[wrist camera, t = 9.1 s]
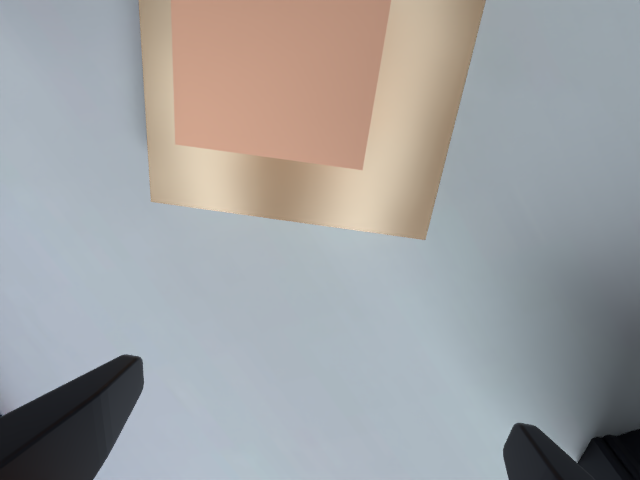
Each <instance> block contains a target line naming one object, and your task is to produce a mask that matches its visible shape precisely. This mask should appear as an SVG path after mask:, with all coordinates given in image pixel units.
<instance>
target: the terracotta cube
mask: <svg viewBox="0 0 640 480" xmlns="http://www.w3.org/2000/svg"><path fill="white" fill-rule="evenodd" d="M390 5H391V0H171V24H172V56H173V89H174V122H175V145H182V146H190V147H197V148H204V149H212V150H219V151H226V152H233V153H241V154H248V155H255V156H262V157H270V158H277V159H284V160H292V161H299V162H306V163H313V164H321V165H328V166H335V167H342V168H350V169H357V170H363V164H364V159H365V153H366V147H367V141H368V135H369V129H370V123H371V117H372V111H373V105H374V99H375V93H376V88H377V82H378V76H379V70H380V64H381V58H382V52H383V46H384V40H385V34H386V28H387V23H388V17H389V11H390Z"/></svg>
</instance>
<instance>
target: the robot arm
mask: <svg viewBox="0 0 640 480" xmlns="http://www.w3.org/2000/svg"><path fill="white" fill-rule="evenodd" d="M143 385H144V376H143V362H142V359H141V357H138V356H133V355H127V354H125V355H121V356H119V357H117V358H115V359H113V360H111V361H109V362H107V363H105V364H103V365H101V366H100V367H98V368H96V369H94V370H92V371H90V372H88V373H86V374H84V375H82V376H80V377H78V378H76V379H74V380H72V381H70V382H68V383H66V384H64V385H62V386H60V387H58V388H56V389H54V390H52V391H50V392H49V393H47V394H45V395H43V396H41V397H39V398H37V399H35V400H33V401H31V402H29V403H27V404H25V405H23V406H21V407H19V408H17V409H15V410H13V411H11V412H9V413H7V414H5V415H3V416H1V417H0V480H93V479H94V478H95V476H96V474H97V473H98V471H99V470H100V468H101V467H102V465H103V463H104V462H105V460H106V459H107V457H108V455H109V453H110V452H111V450H112V448H113V446H114V444H115V442H116V440H117V439H118V437H119V435H120V433H121V431H122V429H123V427H124V425H125V423H126V421H127V419H128V417H129V416H130V414H131V412H132V410H133V408H134V406H135V404H136V402H137V400H138V398H139V396H140V394H141V392H142V390H143ZM503 457H504V462H505V466H506V470H507V474H508V478H509V480H640V429H639V430H634V431H631V432H627V433H625V434H622V435H620V436H613V435H606V436H604V437H603V438H600V437H595V438H593V439H592V440H591V441H590V443H589V445H588V447H587V448H586V450H585V452H584V454H583V455H582V457H581V459H580V460H579V462H578V464H577V463H576V462H575V461H574V460H573V459H572V458H571V457H570V456H569V455H567V454H566V453H565V452H564V451H563V450H562V449H561V448H560V447H559V446H558V445H556V444H555V443H554V442H553V441H552V440H551V439H550V438H549V437H548V436H546V435H545V434H544V433H543V432H542V431H541V430H540V429H539V428H537V427H536V426H534V425H529V424H524V423H516V424H515V425H514V426H513V428H512V430H511V432H510V434H509V436H508V439H507V441H506V443H505V445H504V449H503Z"/></svg>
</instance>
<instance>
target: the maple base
mask: <svg viewBox="0 0 640 480" xmlns="http://www.w3.org/2000/svg"><path fill="white" fill-rule="evenodd" d="M485 1H486V0H391V5H390V11H389V17H388V23H387V28H386V34H385V40H384V46H383V52H382V58H381V64H380V70H379V76H378V82H377V88H376V93H375V99H374V105H373V111H372V117H371V123H370V129H369V135H368V141H367V147H366V153H365V159H364V164H363V170H357V169H350V168H342V167H335V166H328V165H321V164H313V163H306V162H299V161H292V160H284V159H277V158H270V157H262V156H255V155H248V154H241V153H233V152H226V151H219V150H212V149H204V148H197V147H190V146H182V145H175V122H174V89H173V56H172V24H171V0H139V15H140V31H141V47H142V64H143V80H144V96H145V112H146V128H147V145H148V161H149V177H150V193H151V202H156V203H163V204H171V205H178V206H185V207H192V208H199V209H207V210H214V211H221V212H228V213H235V214H243V215H250V216H257V217H264V218H271V219H278V220H286V221H293V222H300V223H307V224H314V225H322V226H329V227H336V228H343V229H350V230H358V231H365V232H372V233H379V234H386V235H393V236H401V237H408V238H415V239H422V240H425V239H426V235H427V231H428V227H429V223H430V219H431V215H432V211H433V207H434V203H435V199H436V195H437V191H438V187H439V183H440V180H441V176H442V172H443V168H444V164H445V160H446V156H447V152H448V148H449V144H450V140H451V136H452V132H453V128H454V124H455V120H456V116H457V112H458V108H459V104H460V100H461V96H462V92H463V89H464V85H465V81H466V77H467V73H468V69H469V65H470V61H471V57H472V53H473V49H474V45H475V41H476V37H477V33H478V29H479V25H480V21H481V17H482V13H483V9H484V5H485Z"/></svg>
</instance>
